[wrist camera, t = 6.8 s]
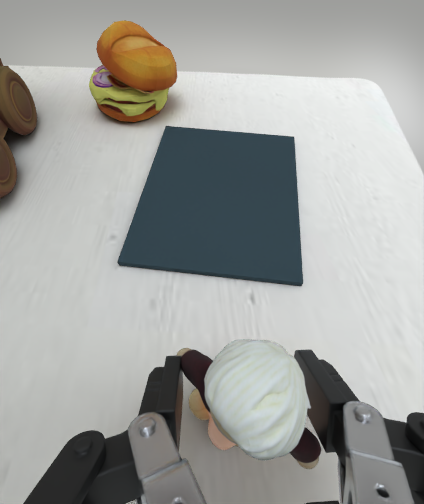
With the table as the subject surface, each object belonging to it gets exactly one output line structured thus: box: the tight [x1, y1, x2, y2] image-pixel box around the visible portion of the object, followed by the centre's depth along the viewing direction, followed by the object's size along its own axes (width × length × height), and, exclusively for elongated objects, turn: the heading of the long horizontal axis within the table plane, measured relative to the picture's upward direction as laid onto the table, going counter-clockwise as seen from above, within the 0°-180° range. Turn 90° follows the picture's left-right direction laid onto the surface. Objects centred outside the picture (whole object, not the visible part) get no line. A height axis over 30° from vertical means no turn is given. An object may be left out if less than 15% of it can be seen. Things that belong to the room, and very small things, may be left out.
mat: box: [118, 126, 303, 286], centre depth 29 cm, size 16×20×1 cm
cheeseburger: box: [89, 21, 177, 122], centre depth 35 cm, size 10×11×10 cm
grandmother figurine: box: [176, 339, 321, 469], centre depth 12 cm, size 8×4×13 cm, turn 66°
